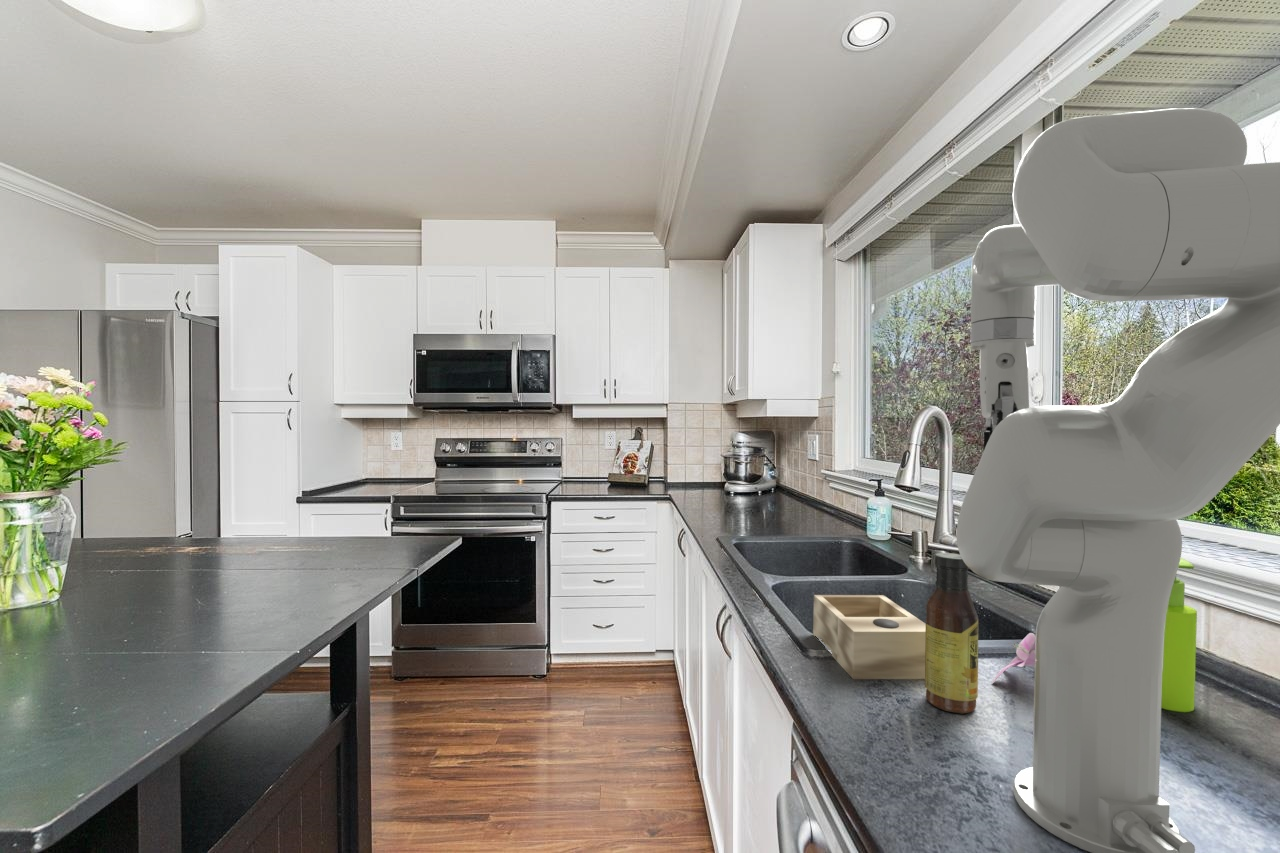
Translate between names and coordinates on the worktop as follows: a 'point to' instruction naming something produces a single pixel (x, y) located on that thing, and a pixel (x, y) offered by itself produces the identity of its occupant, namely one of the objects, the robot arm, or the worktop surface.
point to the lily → (1023, 654)
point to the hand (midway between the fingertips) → (999, 461)
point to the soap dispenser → (1179, 650)
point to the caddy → (871, 636)
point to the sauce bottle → (951, 639)
